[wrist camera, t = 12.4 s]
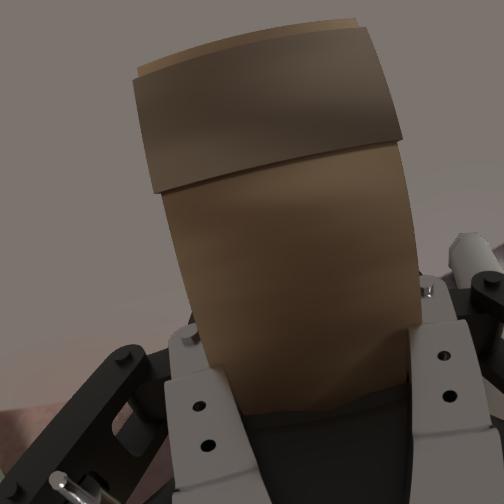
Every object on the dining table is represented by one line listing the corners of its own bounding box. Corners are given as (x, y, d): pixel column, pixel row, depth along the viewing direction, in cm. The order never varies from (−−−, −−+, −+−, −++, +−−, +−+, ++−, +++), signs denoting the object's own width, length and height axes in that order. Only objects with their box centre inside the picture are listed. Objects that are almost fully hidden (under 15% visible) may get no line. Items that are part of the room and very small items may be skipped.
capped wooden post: (382, 461, 12) (329, 85, 9) (403, 535, 7) (360, 15, 5) (285, 479, 12) (191, 116, 10) (283, 557, 8) (130, 67, 5)
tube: (580, 433, 7) (495, 238, 27) (522, 434, 8) (456, 226, 29) (525, 480, 10) (479, 279, 30) (466, 481, 11) (441, 268, 32)
